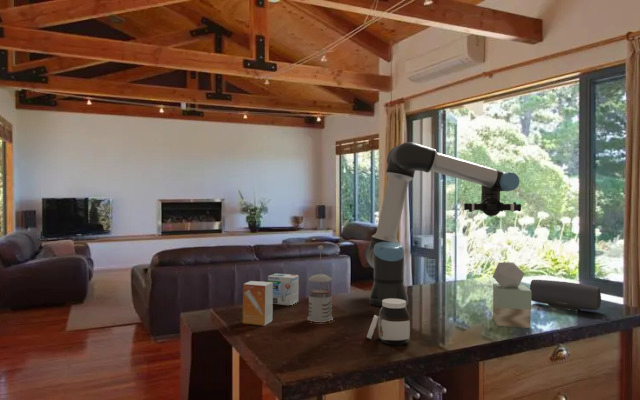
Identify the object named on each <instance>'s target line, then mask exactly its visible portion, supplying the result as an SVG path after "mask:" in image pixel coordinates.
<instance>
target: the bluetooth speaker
mask: <svg viewBox="0 0 640 400" xmlns="http://www.w3.org/2000/svg"><path fill="white" fill-rule="evenodd" d="M529 289H530V290H531V302H532V301H533V302H537V303H539V304H540V303H541V304H546V305H548V307H549V308H553V309H559V308H560V309H561V310H566V309H570V310H569V311H573V310H580V311H581V310H588V311H599V310H600V308H601V304H602V303H601V302H602V296H601V295H602V294H601V287H598V286H594V285H590V284H583V283H577V282H567V281H559V280H548V279H547V280H546V279H532V280H531V281H530V286H529ZM560 309H559V310H560Z"/></svg>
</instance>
